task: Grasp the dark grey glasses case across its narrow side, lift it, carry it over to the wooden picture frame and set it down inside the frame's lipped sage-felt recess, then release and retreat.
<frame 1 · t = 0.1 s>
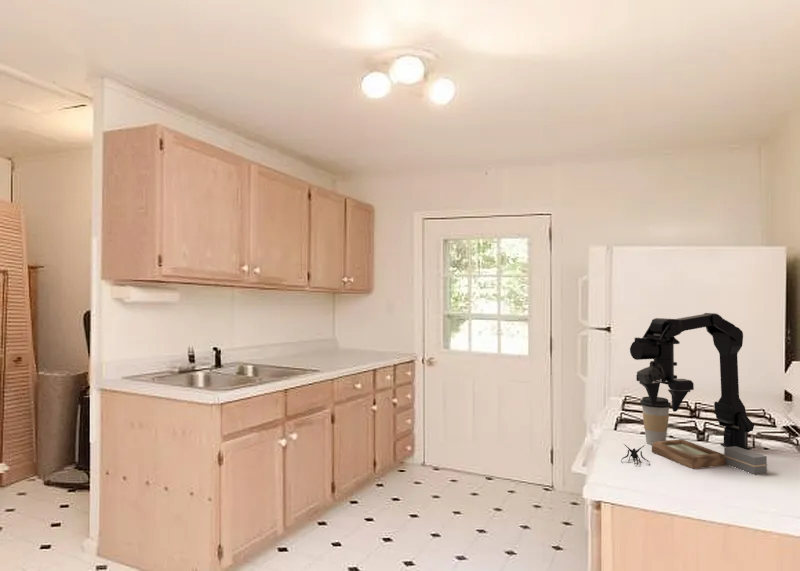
hand: (663, 408, 169), 15 cm above the countertop, fingers open, 9 cm apart
glasses case: (744, 469, 156), on the countertop
wooden picture frame: (687, 458, 166), on the countertop
creature: (635, 463, 162), on the countertop
coffee cup: (655, 443, 182), on the countertop
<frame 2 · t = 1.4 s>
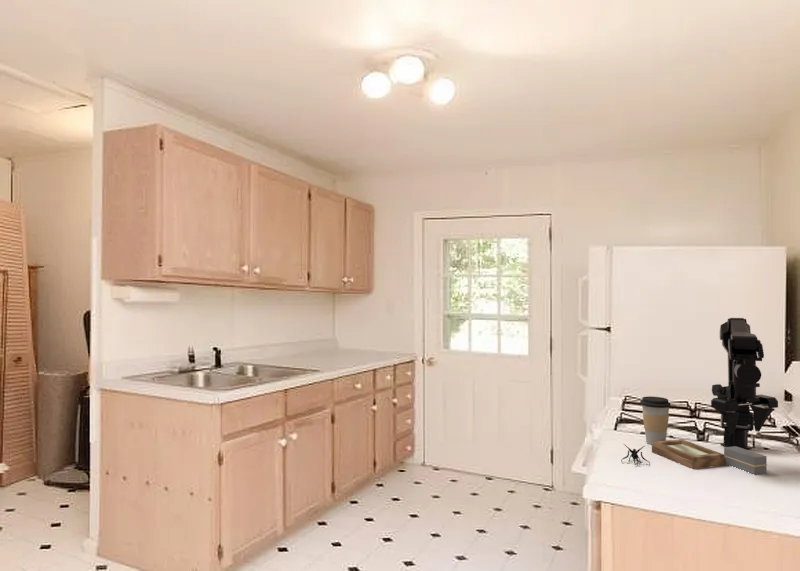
hand: (744, 432, 157), 10 cm above the countertop, fingers open, 9 cm apart
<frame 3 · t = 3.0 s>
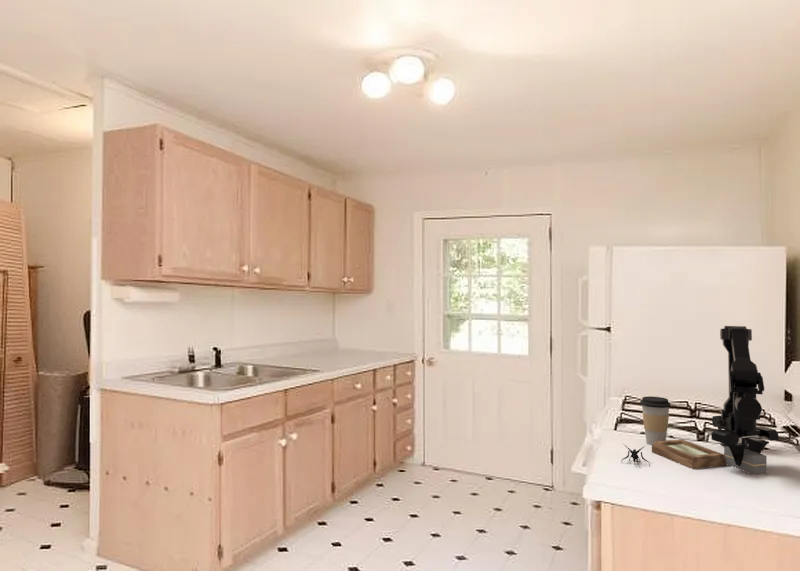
hand: (744, 464, 156), 1 cm above the countertop, fingers closed on glasses case, 4 cm apart
glasses case: (744, 468, 156), on the countertop, touching gripper
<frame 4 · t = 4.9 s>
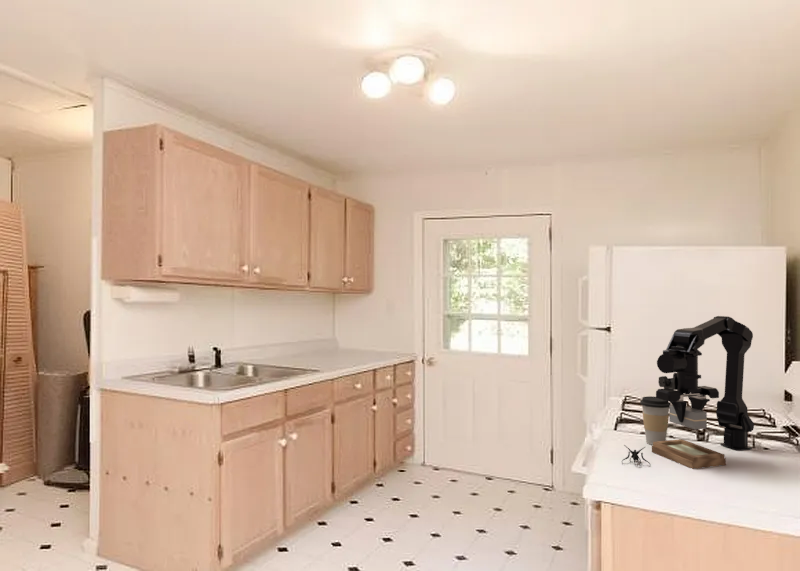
hand: (687, 421, 166), 11 cm above the countertop, fingers closed on glasses case, 4 cm apart
glasses case: (687, 424, 166), point 10 cm above the countertop, touching gripper
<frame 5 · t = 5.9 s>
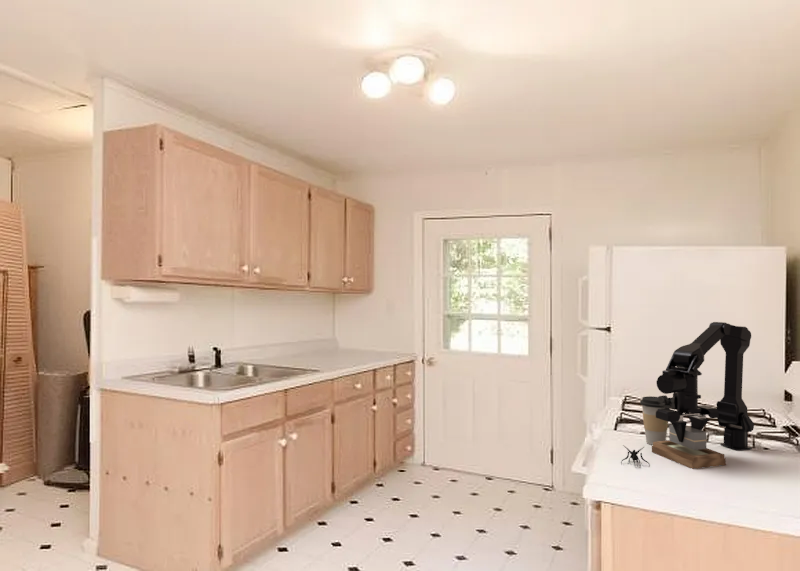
hand: (687, 441, 166), 5 cm above the countertop, fingers closed on glasses case, 4 cm apart
glasses case: (687, 444, 166), point 4 cm above the countertop, touching gripper
when the fingers open (4 cm above the countertop, at t = 6.9 s): glasses case stays where it is, resting on wooden picture frame.
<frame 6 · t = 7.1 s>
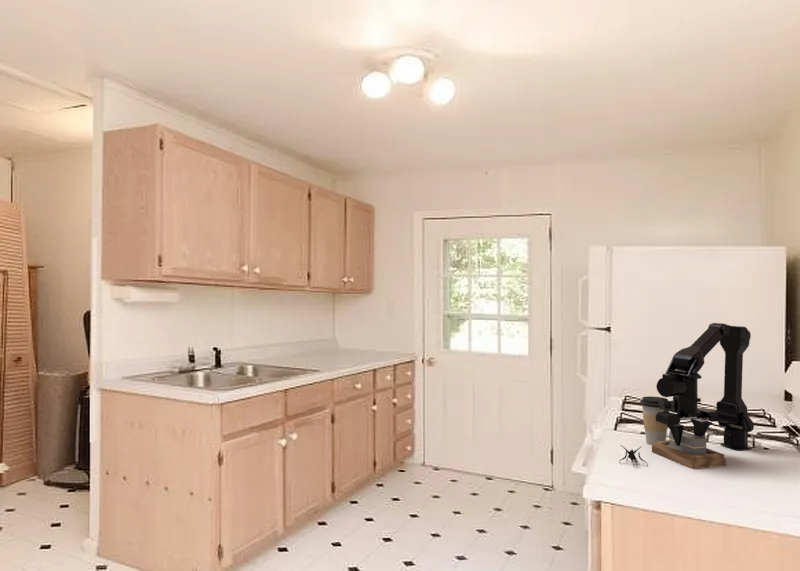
hand: (687, 444, 166), 4 cm above the countertop, fingers open, 7 cm apart
glasses case: (687, 451, 166), point 2 cm above the countertop, touching wooden picture frame
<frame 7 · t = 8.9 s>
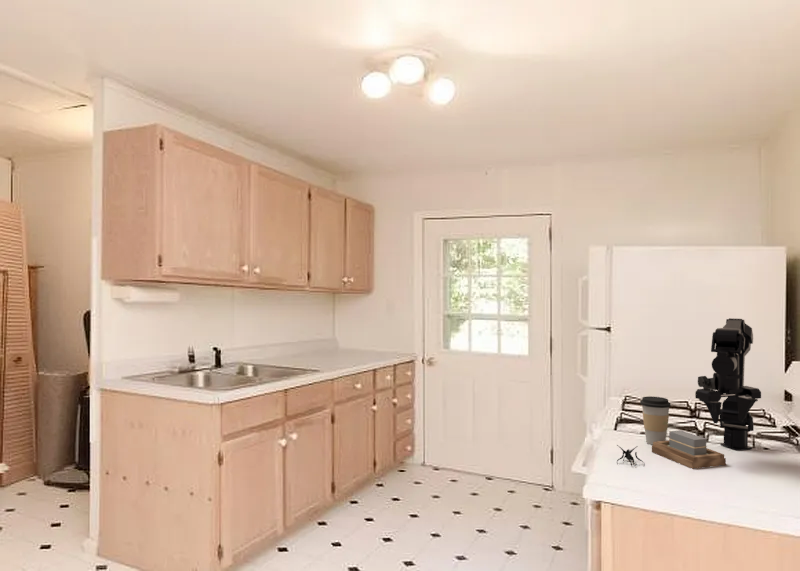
hand: (728, 422, 163), 12 cm above the countertop, fingers open, 9 cm apart
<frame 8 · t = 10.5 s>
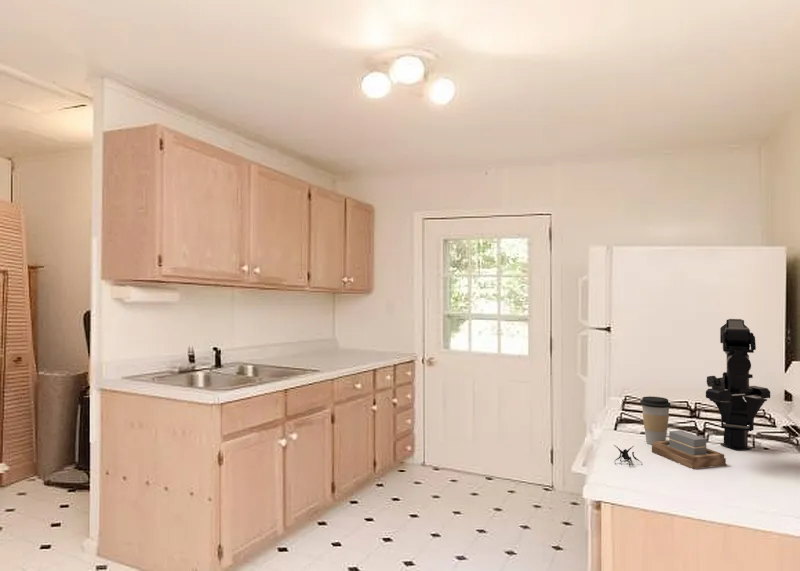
hand: (738, 422, 162), 12 cm above the countertop, fingers open, 9 cm apart
at the end: glasses case inside the target area on the wooden picture frame (0.0 cm from its centre), point 2.2 cm above the wooden picture frame's base; glasses case tilted 0°; the gripper is holding nothing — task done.
